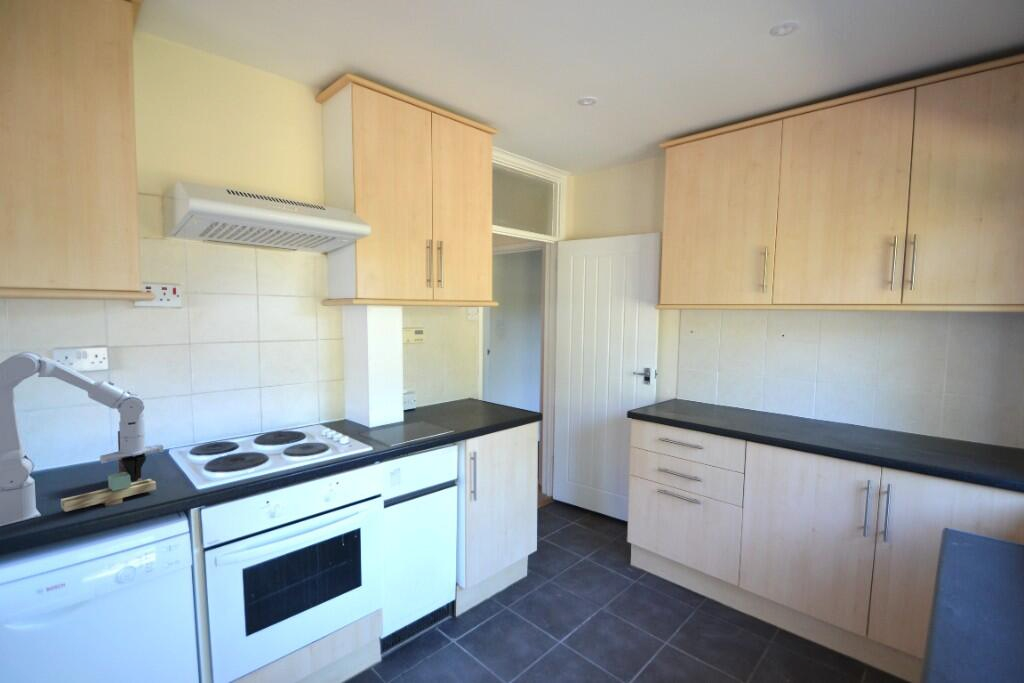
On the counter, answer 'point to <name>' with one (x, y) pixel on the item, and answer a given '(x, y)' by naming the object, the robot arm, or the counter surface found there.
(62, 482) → the counter surface
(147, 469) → the counter surface
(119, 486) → the block
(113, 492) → the beam
